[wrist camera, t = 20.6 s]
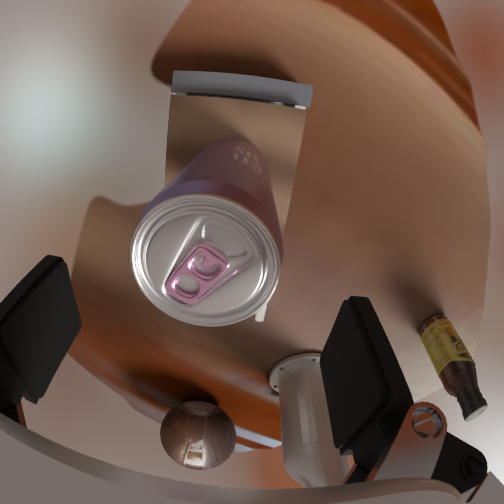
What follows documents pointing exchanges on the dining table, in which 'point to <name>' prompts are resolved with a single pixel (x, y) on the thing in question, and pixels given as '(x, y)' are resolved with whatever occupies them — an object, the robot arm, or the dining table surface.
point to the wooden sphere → (198, 435)
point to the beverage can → (211, 238)
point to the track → (242, 95)
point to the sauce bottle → (453, 365)
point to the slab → (237, 126)
